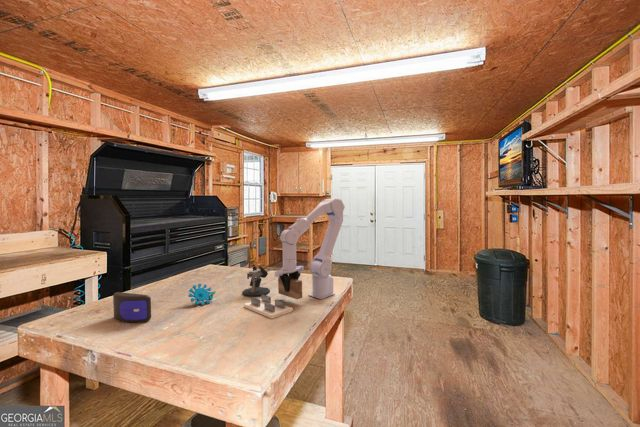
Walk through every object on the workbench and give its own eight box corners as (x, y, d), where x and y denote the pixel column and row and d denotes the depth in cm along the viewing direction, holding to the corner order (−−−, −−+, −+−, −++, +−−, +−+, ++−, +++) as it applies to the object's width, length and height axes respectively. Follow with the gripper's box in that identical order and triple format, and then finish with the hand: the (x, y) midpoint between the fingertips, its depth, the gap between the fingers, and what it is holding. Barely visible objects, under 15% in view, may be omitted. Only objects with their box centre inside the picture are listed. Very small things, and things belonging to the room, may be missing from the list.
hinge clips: (263, 300, 121) (263, 294, 121) (285, 308, 112) (285, 301, 112) (251, 303, 117) (250, 297, 117) (272, 312, 107) (272, 306, 107)
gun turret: (283, 287, 144) (282, 261, 144) (257, 299, 126) (257, 269, 126) (262, 284, 150) (261, 259, 149) (235, 295, 132) (234, 267, 131)
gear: (190, 304, 115) (188, 283, 121) (186, 312, 118) (184, 291, 124) (218, 302, 122) (214, 282, 128) (213, 309, 125) (210, 289, 131)
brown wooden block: (284, 291, 128) (284, 275, 128) (303, 297, 120) (303, 280, 120) (278, 293, 126) (278, 277, 126) (297, 299, 118) (296, 282, 117)
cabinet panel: (264, 300, 124) (264, 297, 124) (292, 311, 112) (292, 308, 112) (244, 306, 117) (243, 303, 117) (271, 318, 105) (271, 315, 104)
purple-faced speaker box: (105, 320, 104) (104, 294, 104) (117, 316, 109) (116, 291, 108) (141, 325, 100) (140, 298, 99) (152, 320, 104) (152, 294, 104)
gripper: (295, 254, 130) (296, 284, 131) (269, 259, 120) (270, 292, 120) (307, 256, 125) (307, 287, 126) (280, 262, 115) (281, 296, 115)
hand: (290, 290), depth 123 cm, fingers closed on brown wooden block, 3 cm apart
